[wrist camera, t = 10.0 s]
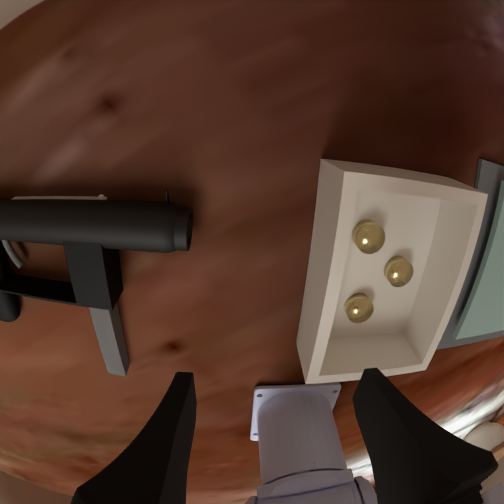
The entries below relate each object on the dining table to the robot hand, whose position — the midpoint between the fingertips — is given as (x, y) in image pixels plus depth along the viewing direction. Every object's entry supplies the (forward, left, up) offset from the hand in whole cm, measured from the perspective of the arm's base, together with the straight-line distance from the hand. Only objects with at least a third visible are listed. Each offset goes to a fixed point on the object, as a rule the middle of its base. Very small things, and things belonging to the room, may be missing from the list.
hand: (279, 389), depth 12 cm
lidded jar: (-34, -43, -10) cm, 56 cm away
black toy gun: (-1, +15, -10) cm, 18 cm away
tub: (+1, -8, -10) cm, 13 cm away
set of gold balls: (+1, -8, -10) cm, 13 cm away
